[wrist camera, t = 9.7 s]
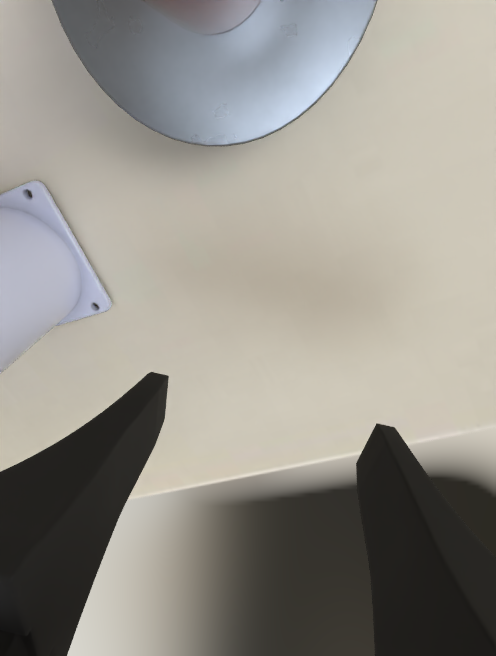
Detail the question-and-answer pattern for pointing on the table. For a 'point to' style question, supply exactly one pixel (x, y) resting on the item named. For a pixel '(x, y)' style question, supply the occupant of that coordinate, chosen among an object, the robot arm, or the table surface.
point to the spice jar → (204, 13)
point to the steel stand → (216, 64)
